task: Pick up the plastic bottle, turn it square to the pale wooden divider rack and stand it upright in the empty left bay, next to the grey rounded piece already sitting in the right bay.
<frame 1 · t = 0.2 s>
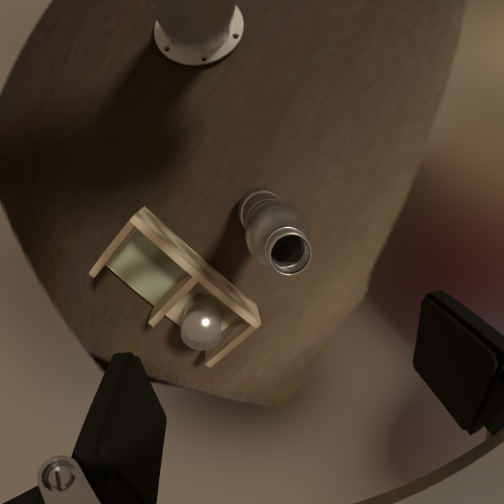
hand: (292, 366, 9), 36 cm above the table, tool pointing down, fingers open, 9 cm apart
grey rounded piece: (203, 309, 47), point 1 cm above the table, touching divider rack
plastic bottle: (259, 207, 43), on the table
divider rack: (178, 283, 46), on the table
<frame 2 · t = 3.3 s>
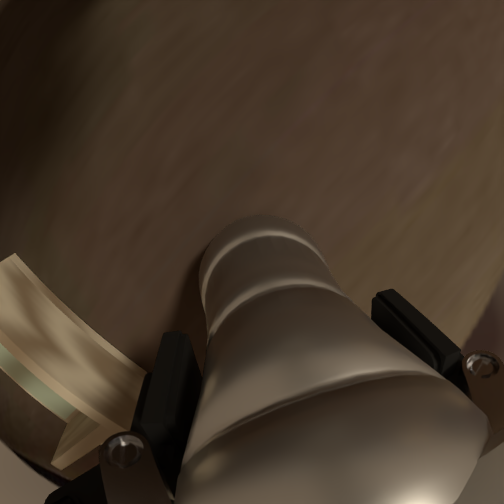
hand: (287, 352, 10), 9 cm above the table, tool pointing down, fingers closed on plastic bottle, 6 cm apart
plastic bottle: (257, 262, 18), on the table, touching gripper
divider rack: (99, 396, 20), on the table
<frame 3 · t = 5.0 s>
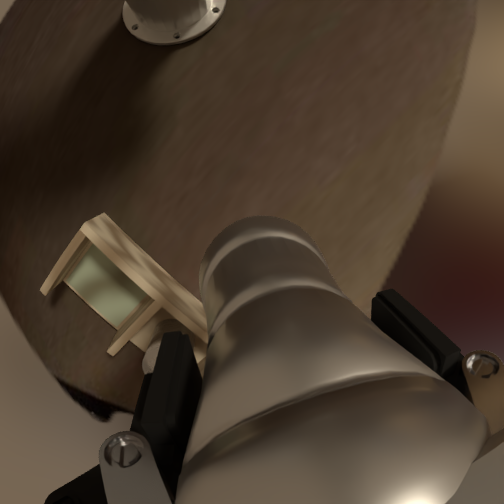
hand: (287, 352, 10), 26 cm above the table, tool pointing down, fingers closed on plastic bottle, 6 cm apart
grey rounded piece: (174, 337, 38), point 1 cm above the table, touching divider rack
plastic bottle: (257, 262, 18), point 18 cm above the table, touching gripper
divider rack: (145, 305, 37), on the table
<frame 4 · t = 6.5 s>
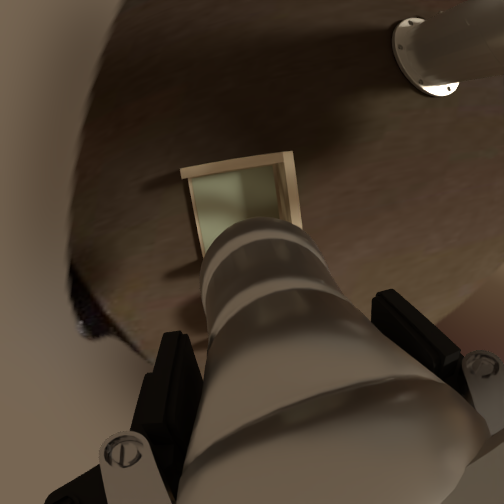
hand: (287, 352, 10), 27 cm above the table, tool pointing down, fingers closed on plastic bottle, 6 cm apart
plastic bottle: (257, 263, 18), point 19 cm above the table, touching gripper
divider rack: (249, 253, 37), on the table
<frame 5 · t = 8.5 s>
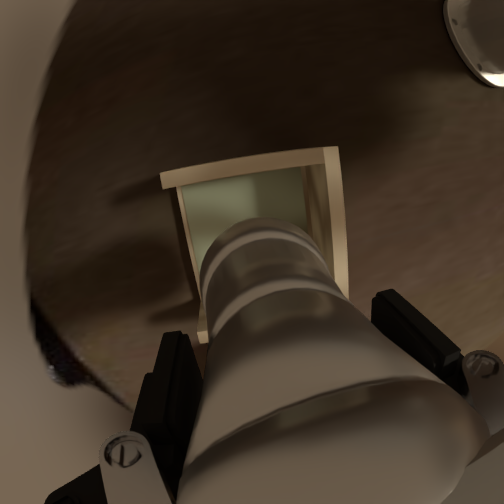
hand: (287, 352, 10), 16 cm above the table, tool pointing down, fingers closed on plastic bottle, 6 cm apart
plastic bottle: (257, 264, 18), point 7 cm above the table, touching gripper
divider rack: (264, 290, 27), on the table
when the fingers open (11 cm above the table, at t = 10.1 s): plastic bottle drops 1 cm, resting on divider rack.
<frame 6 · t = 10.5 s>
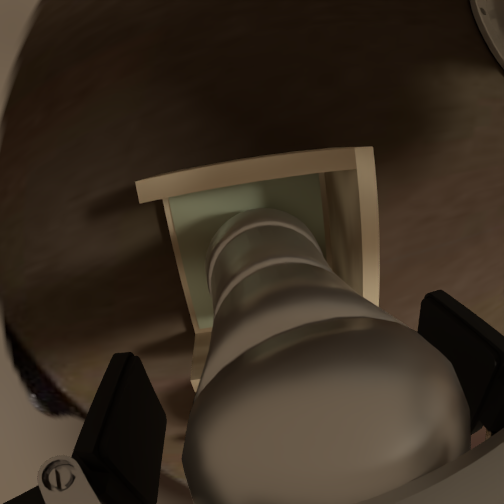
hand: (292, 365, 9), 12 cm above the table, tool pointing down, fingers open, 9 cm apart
plastic bottle: (258, 252, 19), point 1 cm above the table, touching divider rack
divider rack: (271, 321, 22), on the table
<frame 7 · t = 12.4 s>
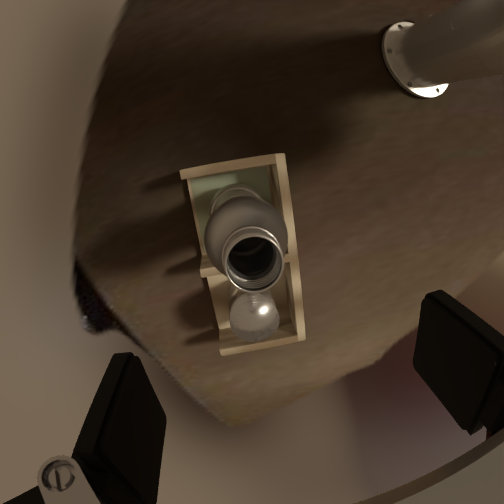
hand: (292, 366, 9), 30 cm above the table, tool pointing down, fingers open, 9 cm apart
grey rounded piece: (248, 292, 40), point 1 cm above the table, touching divider rack
plastic bottle: (236, 208, 37), point 1 cm above the table, touching divider rack
divider rack: (245, 249, 39), on the table
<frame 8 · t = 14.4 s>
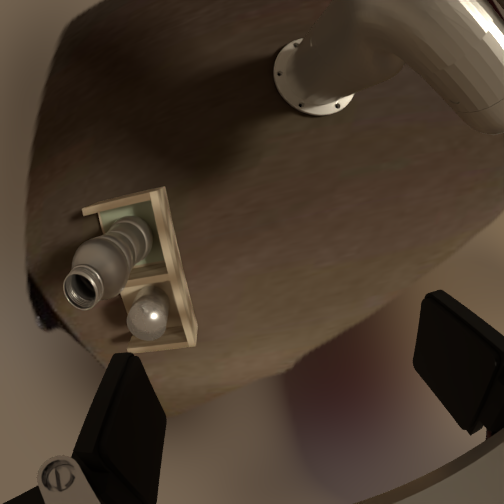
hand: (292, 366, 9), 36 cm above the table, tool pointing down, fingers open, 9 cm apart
grey rounded piece: (152, 302, 46), point 1 cm above the table, touching divider rack
plastic bottle: (135, 234, 43), point 1 cm above the table, touching divider rack
divider rack: (147, 267, 45), on the table
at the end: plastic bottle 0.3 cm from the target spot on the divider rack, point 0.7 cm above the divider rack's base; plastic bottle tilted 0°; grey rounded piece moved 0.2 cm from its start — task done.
